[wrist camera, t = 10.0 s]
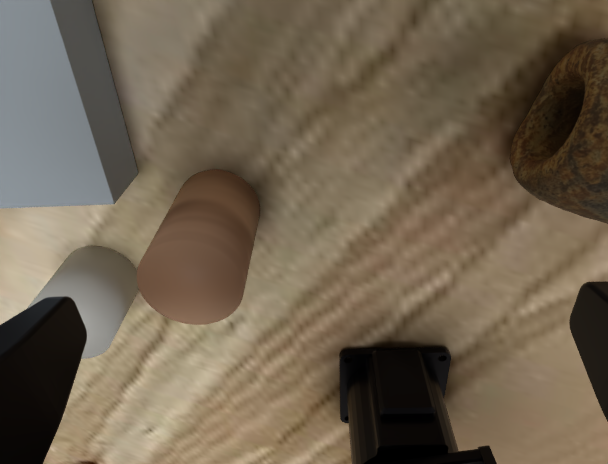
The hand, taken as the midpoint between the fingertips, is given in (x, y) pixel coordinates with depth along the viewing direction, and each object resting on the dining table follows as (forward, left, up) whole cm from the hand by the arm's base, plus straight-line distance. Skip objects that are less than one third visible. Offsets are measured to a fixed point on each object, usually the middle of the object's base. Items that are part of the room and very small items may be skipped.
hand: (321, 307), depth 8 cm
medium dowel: (-5, +5, -13) cm, 15 cm away
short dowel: (-9, +12, -13) cm, 20 cm away
